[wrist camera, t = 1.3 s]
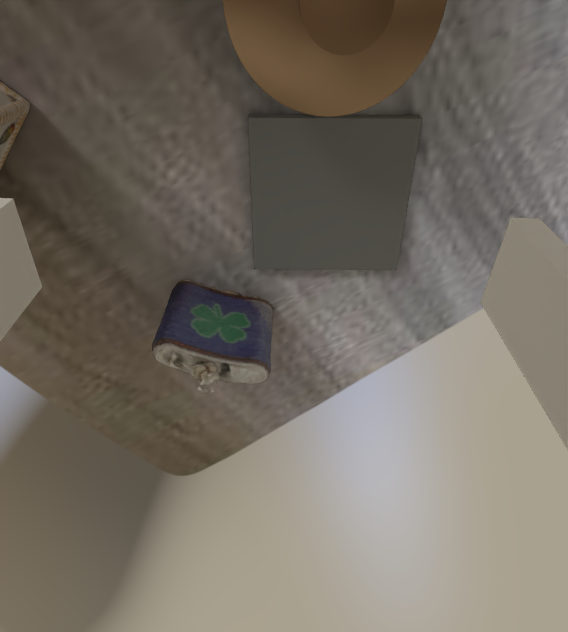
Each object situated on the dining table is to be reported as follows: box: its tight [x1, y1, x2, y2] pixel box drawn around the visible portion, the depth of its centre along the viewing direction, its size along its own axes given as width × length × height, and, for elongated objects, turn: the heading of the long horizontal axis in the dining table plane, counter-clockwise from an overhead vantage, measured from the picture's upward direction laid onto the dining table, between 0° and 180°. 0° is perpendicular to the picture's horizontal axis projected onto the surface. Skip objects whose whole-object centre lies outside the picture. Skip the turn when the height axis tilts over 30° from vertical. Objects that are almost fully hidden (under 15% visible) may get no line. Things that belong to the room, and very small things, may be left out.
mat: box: [248, 114, 422, 270], centre depth 36 cm, size 12×12×1 cm
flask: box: [152, 280, 273, 393], centre depth 38 cm, size 9×3×11 cm, turn 73°
